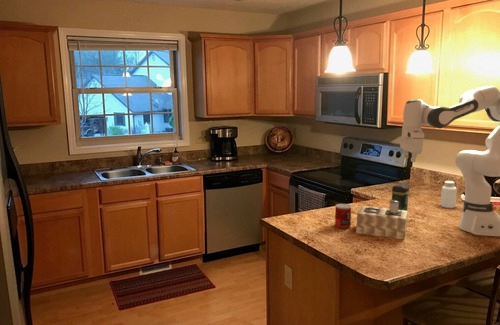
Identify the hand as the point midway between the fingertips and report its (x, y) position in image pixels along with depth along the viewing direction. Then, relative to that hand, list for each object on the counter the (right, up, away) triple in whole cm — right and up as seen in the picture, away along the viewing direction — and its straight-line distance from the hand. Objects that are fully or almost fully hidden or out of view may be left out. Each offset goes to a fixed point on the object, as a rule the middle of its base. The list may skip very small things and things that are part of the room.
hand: (409, 160), depth 207 cm
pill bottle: (+37, -28, +38) cm, 60 cm away
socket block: (-15, -35, -5) cm, 39 cm away
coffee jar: (+1, -31, +17) cm, 36 cm away
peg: (-11, -30, -8) cm, 32 cm away
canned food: (-33, -34, +3) cm, 47 cm away
